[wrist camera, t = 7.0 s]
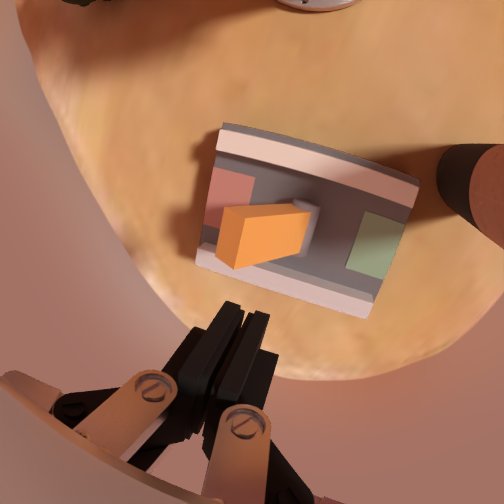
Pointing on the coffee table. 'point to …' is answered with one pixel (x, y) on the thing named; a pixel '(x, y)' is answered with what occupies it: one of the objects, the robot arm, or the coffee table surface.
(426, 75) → the coffee table surface
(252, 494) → the robot arm
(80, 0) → the toy figurine
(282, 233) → the breaker lever
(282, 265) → the breaker block
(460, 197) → the travel mug
